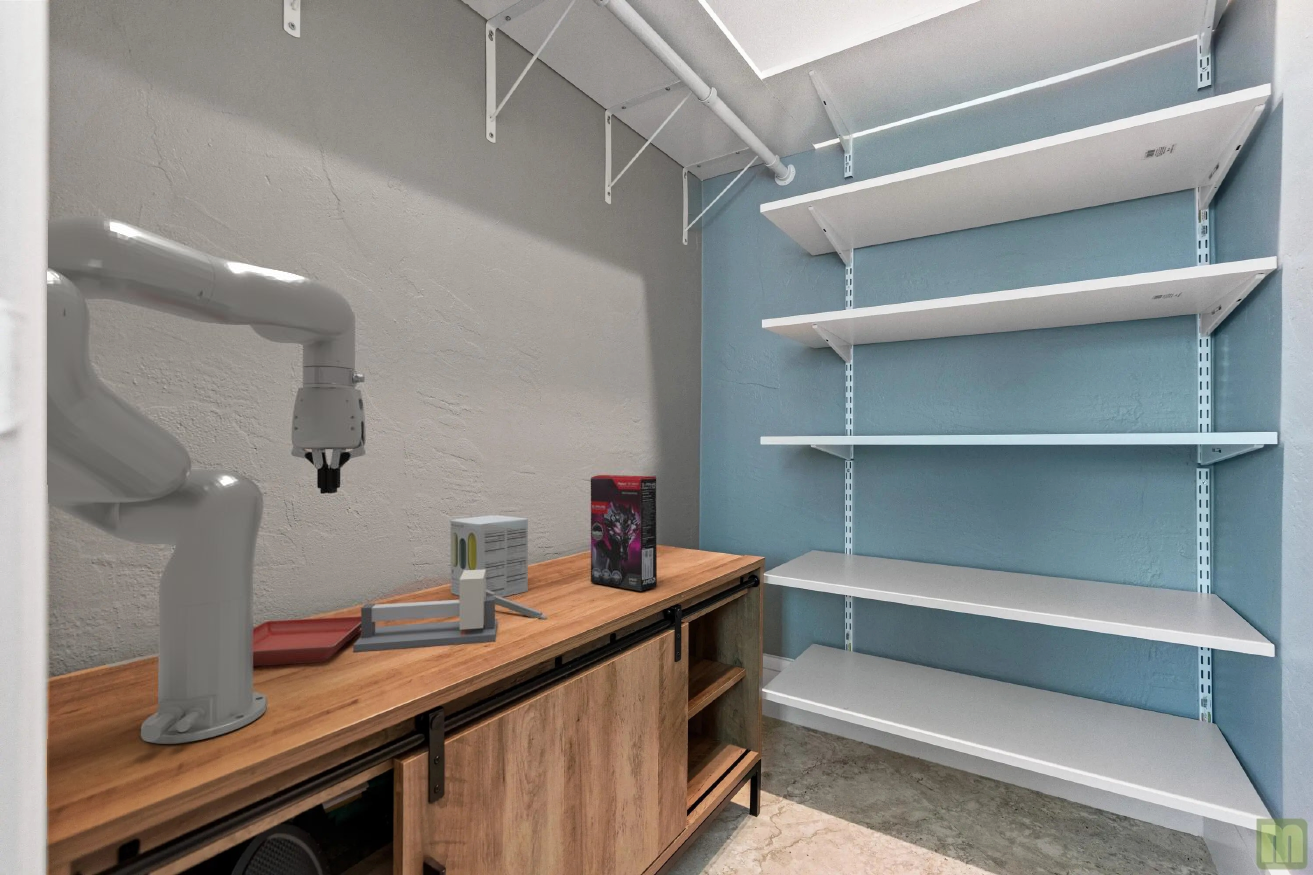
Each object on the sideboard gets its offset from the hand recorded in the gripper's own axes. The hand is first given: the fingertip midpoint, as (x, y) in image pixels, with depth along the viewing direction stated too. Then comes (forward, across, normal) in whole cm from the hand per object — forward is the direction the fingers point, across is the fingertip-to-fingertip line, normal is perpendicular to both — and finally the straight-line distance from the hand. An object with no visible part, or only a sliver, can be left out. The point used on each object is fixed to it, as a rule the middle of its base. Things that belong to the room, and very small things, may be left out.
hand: (328, 492), depth 96 cm
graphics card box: (+27, -55, -39) cm, 73 cm away
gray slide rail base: (+27, -14, -8) cm, 32 cm away
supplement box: (+27, -23, -40) cm, 54 cm away
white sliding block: (+25, -22, -8) cm, 34 cm away
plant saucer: (+28, +7, -7) cm, 29 cm away
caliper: (+28, -27, -21) cm, 44 cm away
